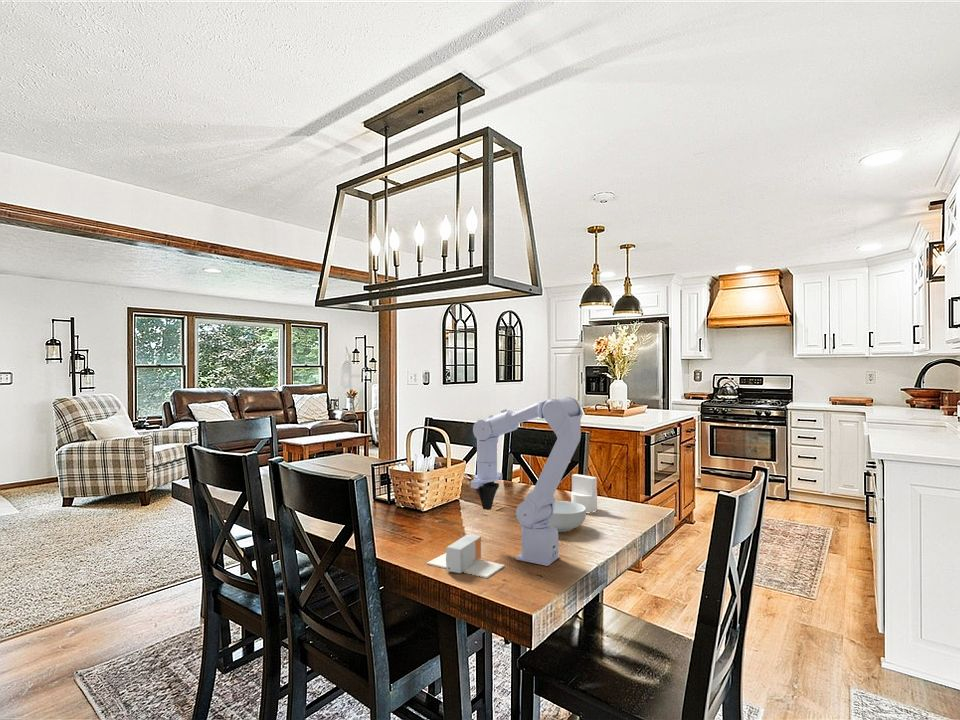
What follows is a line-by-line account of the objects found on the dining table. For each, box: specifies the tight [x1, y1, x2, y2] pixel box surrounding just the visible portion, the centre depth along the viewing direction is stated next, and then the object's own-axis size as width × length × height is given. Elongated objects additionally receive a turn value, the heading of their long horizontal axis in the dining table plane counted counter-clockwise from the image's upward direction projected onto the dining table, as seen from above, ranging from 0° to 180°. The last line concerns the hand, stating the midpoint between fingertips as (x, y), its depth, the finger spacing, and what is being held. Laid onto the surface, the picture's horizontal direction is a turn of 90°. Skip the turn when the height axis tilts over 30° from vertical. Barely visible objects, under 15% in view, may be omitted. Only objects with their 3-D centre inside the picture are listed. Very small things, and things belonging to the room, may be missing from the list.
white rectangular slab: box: [426, 552, 506, 579], centre depth 140 cm, size 18×9×1 cm, turn 59°
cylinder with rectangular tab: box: [570, 473, 598, 512], centre depth 193 cm, size 9×9×12 cm
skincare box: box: [445, 533, 482, 574], centre depth 139 cm, size 6×4×12 cm
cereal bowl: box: [549, 500, 587, 533], centre depth 172 cm, size 17×17×7 cm
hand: (487, 509), depth 155 cm, fingers closed
